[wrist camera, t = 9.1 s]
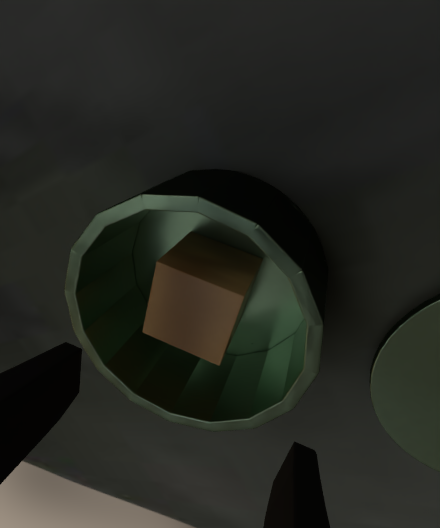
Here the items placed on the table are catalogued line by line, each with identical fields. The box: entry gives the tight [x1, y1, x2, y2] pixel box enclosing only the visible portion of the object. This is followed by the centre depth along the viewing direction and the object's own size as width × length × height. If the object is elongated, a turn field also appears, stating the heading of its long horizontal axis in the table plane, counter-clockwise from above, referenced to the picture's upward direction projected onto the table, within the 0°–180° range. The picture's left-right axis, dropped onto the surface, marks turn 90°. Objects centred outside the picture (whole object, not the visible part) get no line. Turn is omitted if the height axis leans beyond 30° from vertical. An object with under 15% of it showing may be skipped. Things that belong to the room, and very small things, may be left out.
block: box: [142, 231, 263, 366], centre depth 18 cm, size 4×4×4 cm
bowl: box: [64, 169, 328, 432], centre depth 17 cm, size 11×11×5 cm
